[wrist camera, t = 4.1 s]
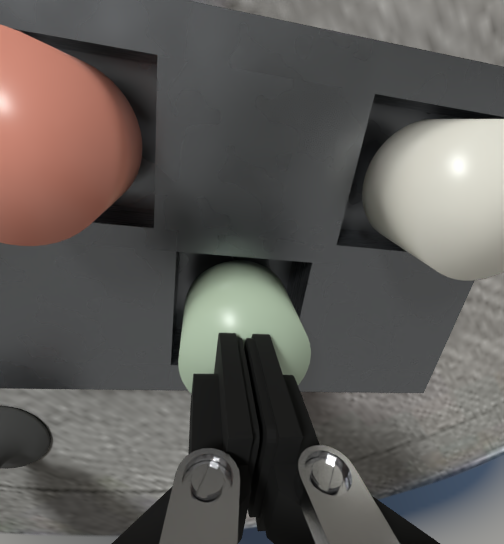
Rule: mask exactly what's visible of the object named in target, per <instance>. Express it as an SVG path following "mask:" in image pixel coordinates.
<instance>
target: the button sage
mask: <svg viewBox="0 0 504 544" xmlns="http://www.w3.org/2000/svg"><path fill="white" fill-rule="evenodd" d="M219 333H236V336H237V338H242V340H243V345H244V347H245V341H246V338H251V337H252V334H269V335H270V336H271V340H272V343H273V346H274V349H275V352H276V355H277V358H278V361H279V364H280V367H281V371H282V374H283V375H293V376H294V377H295V379H296V382H297V385H299V384H300V382H301V381H302V379H303V378H304V376H305V374H306V372H307V370H308V367H309V364H310V358H311V348H310V342H309V339H308V336H307V334H306V332H305V330H304V328H303V326H302V324H301V321H300V319H299V317H298V315H297V313H296V311H295V309H294V307H293V304H292V302H291V300H290V298H289V296H288V294H287V292H286V289H285V287H284V285H283V283H282V282H281V280H280V279H279V278H278V277H277V275H276V274H275V273H273V272H272V271H271V270H270V269H268V268H266V267H265V266H263V265H260V264H258V263H254V262H251V261H243V260H235V261H228V262H223V263H220V264H217V265H215V266H213V267H211V268H209V269H207V270H206V271H204V272H203V273H202V274H201V275H199V276H198V277H197V278H196V280H195V281H194V282H193V283H192V285H191V286H190V288H189V290H188V293H187V295H186V299H185V306H184V315H183V323H182V332H181V341H180V350H179V359H178V368H179V373H180V376H181V379H182V381H183V383H184V385H185V387H186V388H187V389H188V391H189V392H190V393H191V394H192V382H193V374H214V368H215V359H216V351H217V342H218V334H219Z"/></svg>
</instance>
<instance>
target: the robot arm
mask: <svg viewBox="0 0 504 544" xmlns="http://www.w3.org/2000/svg"><path fill="white" fill-rule="evenodd" d="M247 510H248V512H249V516H250V517H256V522H257V529H258V531H266V535H267V538H268V539H269V540H271V541H272V542H273V543H274V544H440V543H438V542H437V541H436V540H434V539H433V538H431V537H430V536H428V535H427V534H425V533H424V532H423V531H421V530H420V529H418V528H417V527H416V526H414V525H413V524H411V523H410V522H408V521H407V520H406V519H404V518H402V517H401V516H400V515H398V514H397V513H396V512H394V511H393V510H391V509H390V508H388V507H387V506H386V505H384V504H382V503H381V502H380V501H378V500H377V499H376V498H374V497H373V496H371V494H370V493H369V491H368V489H367V487H366V486H365V484H364V482H363V481H362V479H361V477H360V476H359V474H358V472H357V471H356V469H355V467H354V466H353V464H352V463H351V462H350V461H349V459H348V458H347V457H346V456H344V455H343V454H342V453H341V452H339V451H337V450H336V449H334V448H332V447H328V446H324V445H319V442H318V439H317V437H316V434H315V431H314V428H313V426H312V423H311V420H310V417H309V415H308V412H307V409H306V406H305V404H304V401H303V398H302V396H301V393H300V390H299V387H298V385H297V382H296V379H295V377H294V376H293V375H283V374H282V371H281V367H280V364H279V361H278V358H277V355H276V352H275V349H274V346H273V343H272V340H271V336H270V335H269V334H252V337H251V338H246V341H245V347H244V345H243V340H242V338H237V336H236V333H219V334H218V342H217V351H216V359H215V368H214V374H193V382H192V395H191V410H190V432H189V455H187V456H186V457H185V458H184V459H183V460H182V462H181V463H180V464H179V466H178V469H177V471H176V474H175V478H174V483H173V486H172V487H171V488H170V489H169V490H168V491H167V492H166V493H165V494H164V495H163V496H162V497H161V498H160V499H159V500H158V501H157V502H156V503H154V504H153V505H152V506H151V507H150V508H149V509H148V510H147V511H146V512H145V513H144V514H143V515H142V516H141V517H140V518H139V519H137V520H136V521H135V522H134V523H133V524H132V525H131V526H130V527H129V528H128V529H127V530H126V531H125V532H124V533H123V534H122V535H120V536H119V537H118V538H117V539H116V540H115V541H114V542H113V543H112V544H238V543H239V542H240V540H241V538H242V534H243V529H244V524H245V519H246V514H247Z"/></svg>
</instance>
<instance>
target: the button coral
mask: <svg viewBox="0 0 504 544" xmlns="http://www.w3.org/2000/svg"><path fill="white" fill-rule="evenodd" d="M141 159H142V136H141V131H140V127H139V124H138V120H137V118H136V115H135V113H134V111H133V109H132V107H131V105H130V103H129V102H128V100H127V98H126V97H125V96H124V94H123V93H122V92H121V90H120V89H119V88H118V87H117V86H116V85H115V84H114V83H113V82H112V81H111V80H110V79H109V78H108V77H107V76H106V75H104V74H103V73H102V72H100V71H99V70H98V69H96V68H95V67H93V66H91V65H89V64H87V63H85V62H84V61H82V60H79V59H77V58H75V57H73V56H71V55H69V54H67V53H65V52H62V51H60V50H58V49H56V48H54V47H52V46H50V45H47V44H45V43H43V42H41V41H39V40H37V39H35V38H33V37H30V36H28V35H26V34H24V33H22V32H20V31H17V30H14V29H12V28H9V27H7V26H4V25H0V243H4V244H10V245H18V246H40V245H48V244H53V243H57V242H60V241H63V240H66V239H68V238H71V237H72V236H74V235H76V234H78V233H80V232H81V231H82V230H84V229H85V228H87V227H88V226H89V225H90V224H91V223H92V222H94V221H95V220H96V219H97V218H98V217H99V216H100V215H101V214H102V213H103V212H104V211H105V210H107V209H108V208H109V207H110V206H111V205H112V204H113V203H114V202H115V201H116V200H117V199H119V198H120V197H121V196H122V195H123V194H124V193H125V192H126V191H127V190H128V189H129V187H130V186H131V185H132V183H133V182H134V180H135V178H136V176H137V174H138V171H139V168H140V164H141Z"/></svg>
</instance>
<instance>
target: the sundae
mask: <svg viewBox="0 0 504 544" xmlns="http://www.w3.org/2000/svg"><path fill="white" fill-rule="evenodd" d="M49 445H50V436H49V433H48V431H47V429H46V427H45V426H44V425H43V424H42V422H41V421H39V420H38V419H37V418H36V417H35V416H33V415H31V414H29V413H27V412H25V411H22V410H20V409H17V408H12V407H6V406H0V468H16V467H21V466H25V465H27V464H30V463H32V462H34V461H36V460H38V459H40V458H41V457H42V456H43V455H44V454H45V453H46V452H47V450H48V448H49Z"/></svg>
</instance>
